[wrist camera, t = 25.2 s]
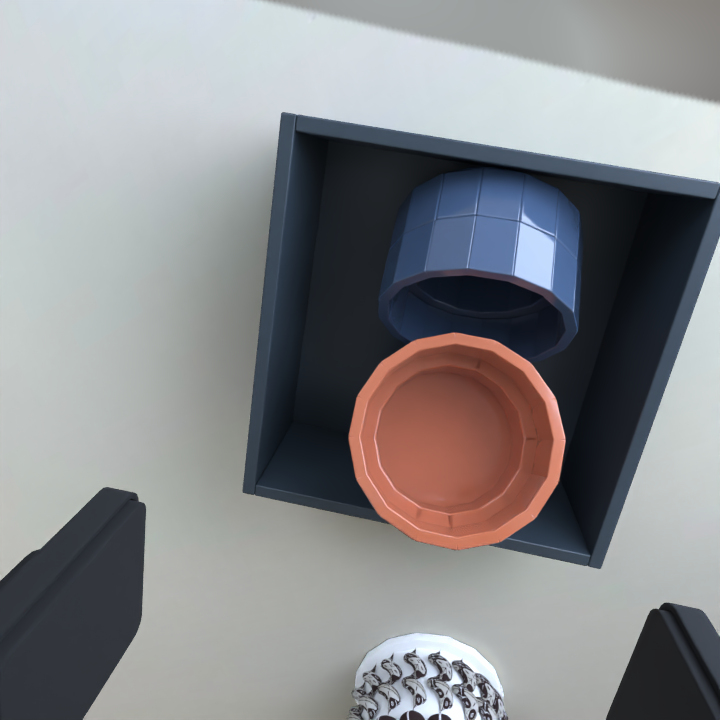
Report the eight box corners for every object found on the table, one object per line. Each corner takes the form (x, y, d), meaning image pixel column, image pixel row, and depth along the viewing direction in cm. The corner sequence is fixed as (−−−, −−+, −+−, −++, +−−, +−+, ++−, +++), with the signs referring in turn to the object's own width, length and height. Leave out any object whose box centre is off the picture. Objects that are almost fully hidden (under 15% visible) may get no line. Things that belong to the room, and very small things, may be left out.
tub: (284, 424, 29) (242, 493, 23) (321, 126, 24) (280, 111, 18) (565, 481, 28) (601, 569, 22) (659, 181, 23) (738, 185, 17)
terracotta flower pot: (325, 413, 23) (309, 407, 19) (465, 321, 23) (483, 294, 19) (419, 560, 22) (426, 591, 18) (564, 464, 22) (608, 470, 18)
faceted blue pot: (364, 203, 22) (339, 302, 21) (515, 123, 18) (499, 243, 16) (469, 287, 26) (456, 377, 25) (617, 241, 21) (613, 348, 20)
